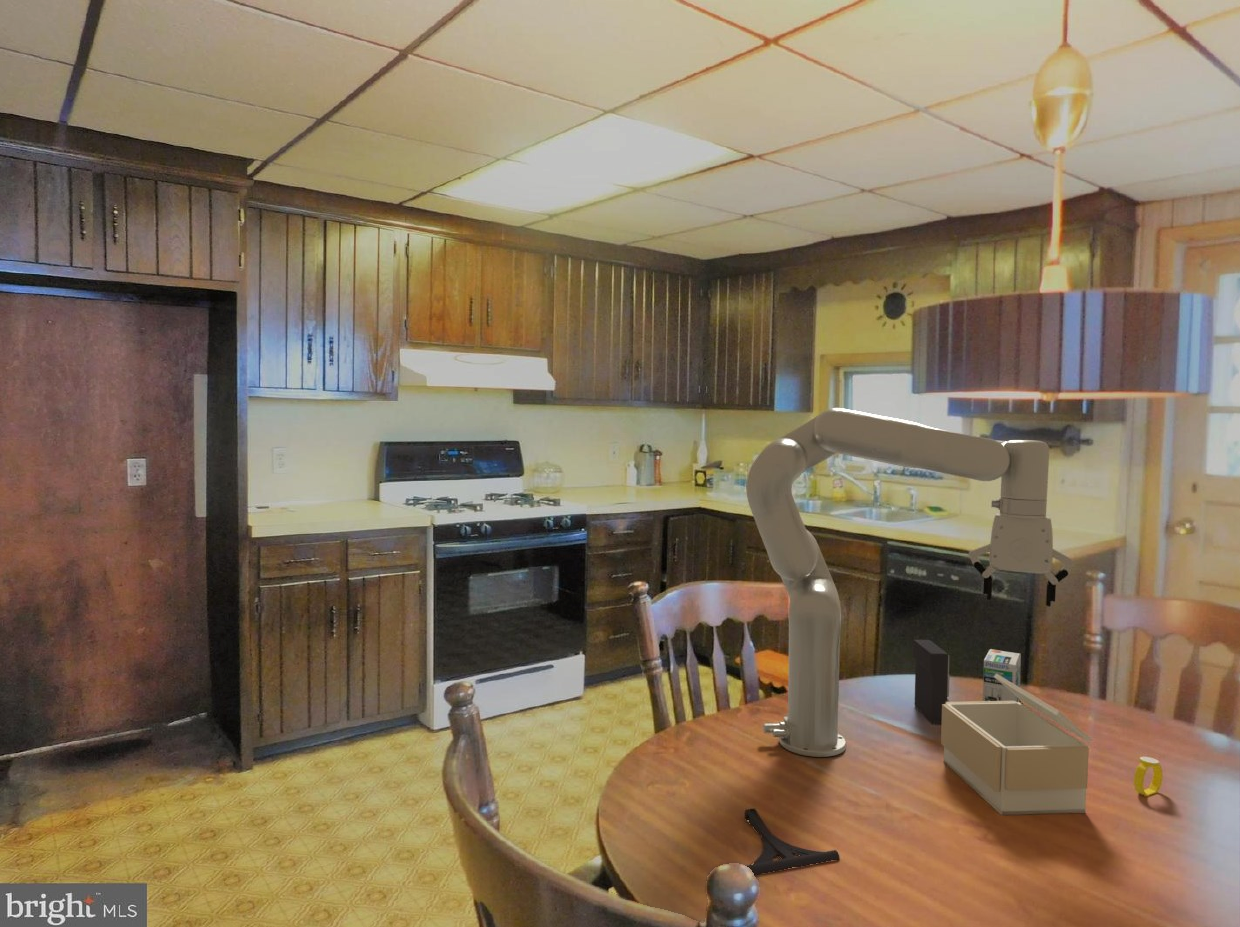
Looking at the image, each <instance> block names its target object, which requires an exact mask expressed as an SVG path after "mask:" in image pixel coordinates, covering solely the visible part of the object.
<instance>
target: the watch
mask: <svg viewBox="0 0 1240 927" xmlns="http://www.w3.org/2000/svg"><path fill="white" fill-rule="evenodd" d="M1160 764H1161V763H1160V761H1159V760H1158V759H1156V758H1153V757H1149V756H1140V757H1139V764H1138V765H1137V767H1136V770H1135V772H1134V776H1133V777H1134V778H1133V779H1134V780H1133V785H1134V790H1135V791H1136V792H1137V793H1138V794H1139V795H1141V796H1143V795H1144V796H1143V797H1149V796H1152V795H1154V794H1155V795H1156V794H1157V793H1158V791H1159V790H1160V788H1161V785H1162V782H1163V769H1162V766H1161V765H1160ZM1150 767H1151V768H1152V769H1153V770H1152V773H1153V774H1152V779H1151V783H1150V784H1149V786H1148V788H1146V789H1145V788H1144V778H1145V775H1146V772H1147V771H1148V770H1149V768H1150Z"/></svg>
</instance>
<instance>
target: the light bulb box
mask: <svg viewBox="0 0 1240 927" xmlns="http://www.w3.org/2000/svg"><path fill="white" fill-rule="evenodd" d="M1021 657H1022V654H1021V653H1017V652H1011V651H1006V650H1005V651H1004V650H998V649H994V648H993V649H992V648H990V649H988V652H987V654H986V655H985V657H984V659H983V679H982V680H983V682H982V684H983V685H982V701H1016V702H1019V703H1020V701H1021V700H1020V699H1019V698H1018V697H1017V696H1016V695H1014V694H1013V693H1012V692H1011V691H1010V690H1009V689H1007V688H1006V687H1005V686H1004V685H1003V684H1002V683H1000V682H999V681H998V680H997V679H996V678H995V677H994V675H995V674H996V673H997V674H998V675H1000V676H1002V677H1003V678H1005V679H1007V680H1008V681H1010V682H1012V683H1013V684H1015V685H1017V686H1018V687H1020V688H1021V665H1022V664H1021V662H1022V660H1021V659H1022V658H1021Z"/></svg>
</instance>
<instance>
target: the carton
mask: <svg viewBox="0 0 1240 927" xmlns="http://www.w3.org/2000/svg"><path fill="white" fill-rule="evenodd" d="M940 732H941V734H940V744H941V745H942V746H943V748H944V749H943V763H945V765H947V767H949V768H950V769H951V770H952V771H953V772H954V773H955V774H956V775H957V776H959V777H960V778H961V780H963V782H965V783H966V784H967V785H968V786H969V787H970V788H971V789H972V790H974V791H975V792H976V793H977V794H978V795H979V796H980V797H981V798H982V799H983V800H984V801H986V802H987V803H988V804H989V805H990V806H991V807H992V808H993V809H994V810H995V811H996V812H998V814H1000V815H1001V816H1010V815H1011V816H1012V815H1013V816H1014V815H1015V816H1016V815H1018V816H1019V815H1045V814H1046V815H1047V814H1051V815H1053V814H1056V815H1057V814H1083V813H1086V810H1087V809H1086V806H1087V805H1086V804H1087V789H1088V778H1089V777H1088V776H1089V752H1090V750H1089V749H1090V748H1089V746H1088V745H1087V744H1085V743H1084V742H1083V741H1081V740H1079V739H1078V738H1076V737H1074V735H1071V734H1070V733H1068V732H1066V731H1065V730H1063V729H1062V728H1060V727H1059V726H1057V725H1055V724H1054V723H1052V722H1051V721H1049V720H1048V719H1046V718H1044V717H1043V716H1041V715H1040V714H1038V713H1036V711H1033V710H1032V709H1030V708H1029V707H1027V706H1026V705H1024V704H1022V703H1021V702H1020V701H1019V702H1016V701H983V700H982V701H981V700H979V701H978V700H977V701H973V700H971V701H949V702H945V704H942V724H941V730H940Z"/></svg>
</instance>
